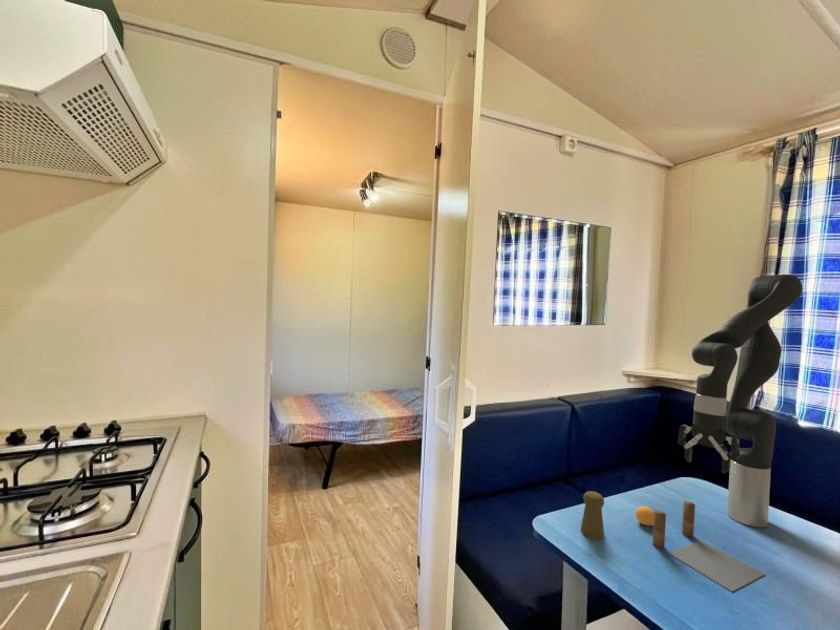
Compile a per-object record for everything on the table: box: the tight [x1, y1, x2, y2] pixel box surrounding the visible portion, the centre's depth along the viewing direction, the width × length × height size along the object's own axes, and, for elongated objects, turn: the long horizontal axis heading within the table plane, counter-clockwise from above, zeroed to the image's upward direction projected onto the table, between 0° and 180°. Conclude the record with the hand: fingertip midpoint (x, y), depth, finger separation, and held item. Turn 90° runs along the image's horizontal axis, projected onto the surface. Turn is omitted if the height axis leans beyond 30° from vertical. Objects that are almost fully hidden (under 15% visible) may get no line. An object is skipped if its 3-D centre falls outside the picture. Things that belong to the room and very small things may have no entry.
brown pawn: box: [580, 490, 605, 540], centre depth 104 cm, size 6×6×11 cm
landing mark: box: [668, 539, 766, 593], centre depth 93 cm, size 14×14×1 cm
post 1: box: [652, 509, 667, 550], centre depth 99 cm, size 3×3×9 cm
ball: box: [635, 505, 654, 527], centre depth 109 cm, size 5×5×5 cm
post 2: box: [681, 500, 696, 539], centre depth 105 cm, size 3×3×9 cm
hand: (705, 466), depth 109 cm, fingers open, 8 cm apart
